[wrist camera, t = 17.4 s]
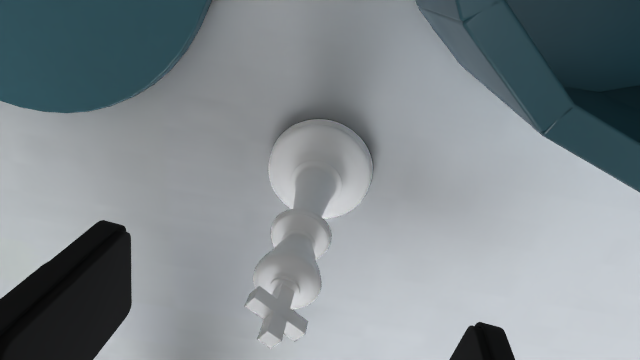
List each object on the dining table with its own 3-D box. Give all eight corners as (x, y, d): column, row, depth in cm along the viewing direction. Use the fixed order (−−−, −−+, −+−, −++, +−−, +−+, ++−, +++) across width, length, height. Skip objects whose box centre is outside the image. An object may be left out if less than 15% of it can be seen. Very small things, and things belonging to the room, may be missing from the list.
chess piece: (315, 96, 17) (247, 217, 8) (395, 167, 18) (416, 348, 9) (250, 169, 19) (137, 333, 10) (325, 230, 20) (284, 428, 11)
